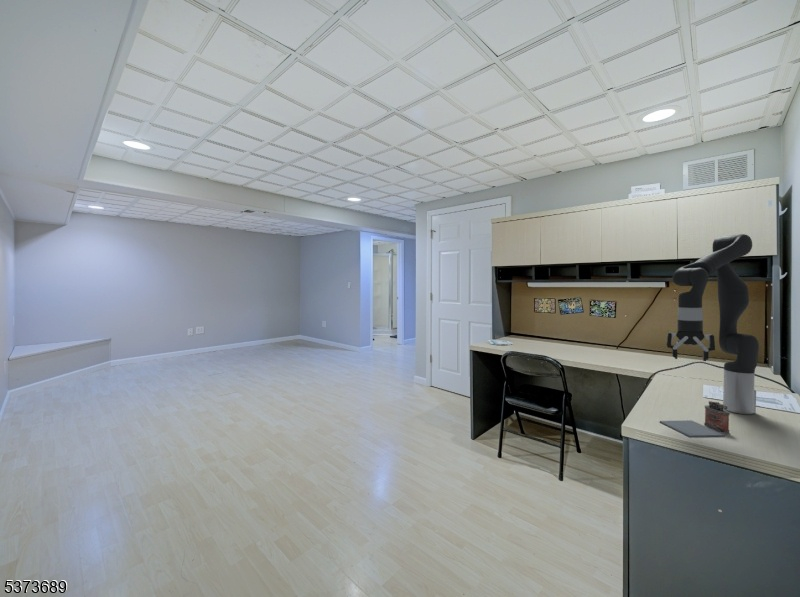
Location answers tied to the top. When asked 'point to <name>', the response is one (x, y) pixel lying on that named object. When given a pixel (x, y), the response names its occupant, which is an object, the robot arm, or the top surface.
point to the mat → (692, 429)
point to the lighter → (717, 417)
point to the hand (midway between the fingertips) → (689, 359)
